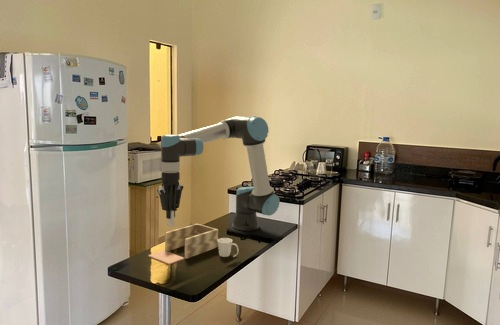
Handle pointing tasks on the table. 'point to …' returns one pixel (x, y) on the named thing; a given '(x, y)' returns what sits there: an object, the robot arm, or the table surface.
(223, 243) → the cup
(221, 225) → the table surface
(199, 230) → the box
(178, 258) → the tailgate
